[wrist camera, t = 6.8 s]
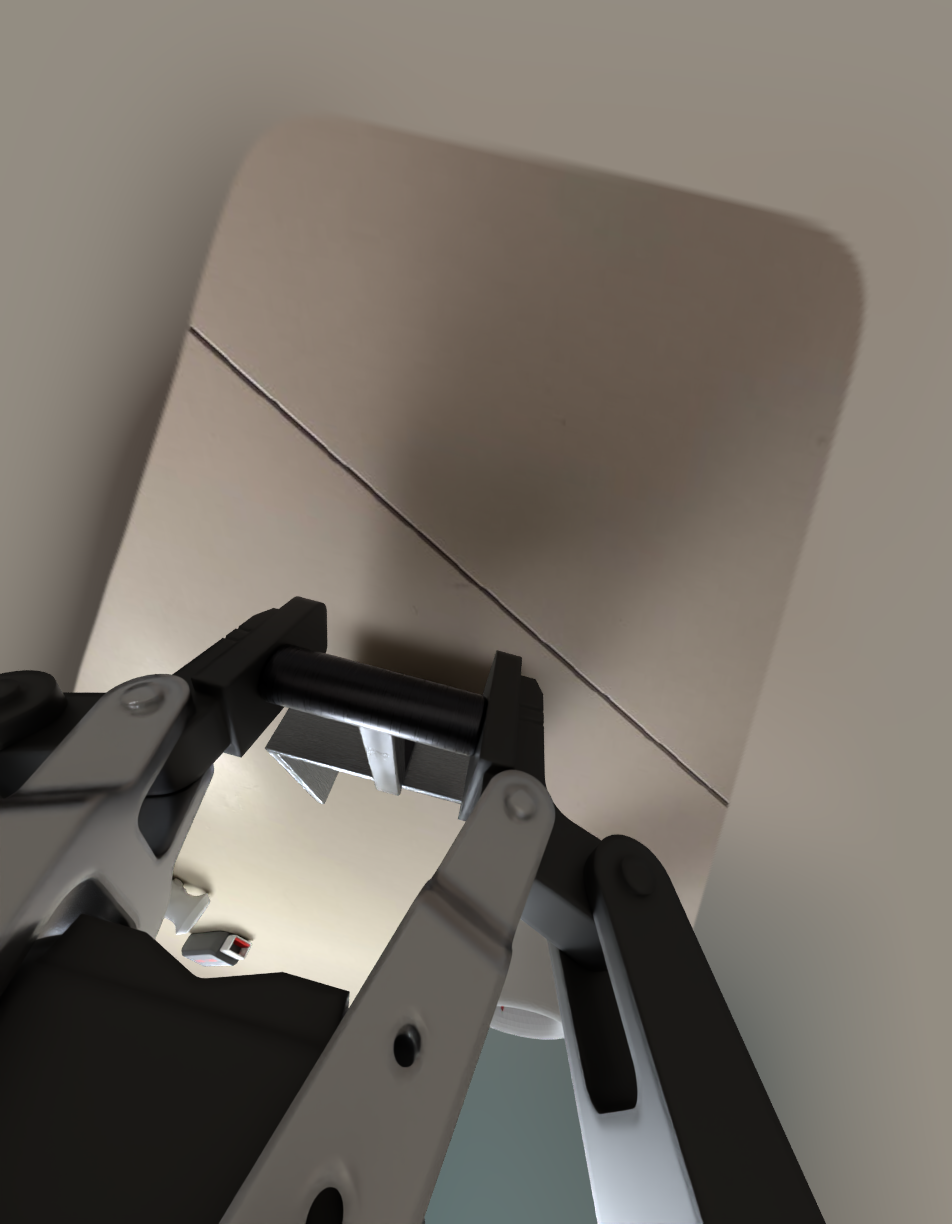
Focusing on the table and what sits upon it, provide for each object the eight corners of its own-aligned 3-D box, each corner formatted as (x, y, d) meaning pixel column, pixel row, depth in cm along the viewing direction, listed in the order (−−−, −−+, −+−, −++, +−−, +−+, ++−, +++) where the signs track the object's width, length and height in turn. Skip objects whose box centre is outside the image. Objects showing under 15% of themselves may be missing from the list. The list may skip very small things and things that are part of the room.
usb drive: (190, 934, 57) (175, 956, 54) (232, 929, 52) (217, 954, 50) (215, 947, 58) (202, 970, 56) (258, 944, 54) (245, 968, 52)
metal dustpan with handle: (610, 614, 10) (621, 783, 7) (489, 782, 25) (476, 859, 22) (251, 520, 10) (112, 647, 7) (344, 743, 25) (311, 814, 22)
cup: (608, 909, 32) (628, 1044, 25) (561, 933, 36) (567, 1055, 29) (504, 867, 31) (496, 996, 24) (468, 897, 35) (452, 1015, 28)
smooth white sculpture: (161, 866, 46) (158, 869, 43) (214, 893, 48) (216, 899, 45) (127, 905, 44) (122, 912, 40) (186, 932, 45) (185, 942, 42)
